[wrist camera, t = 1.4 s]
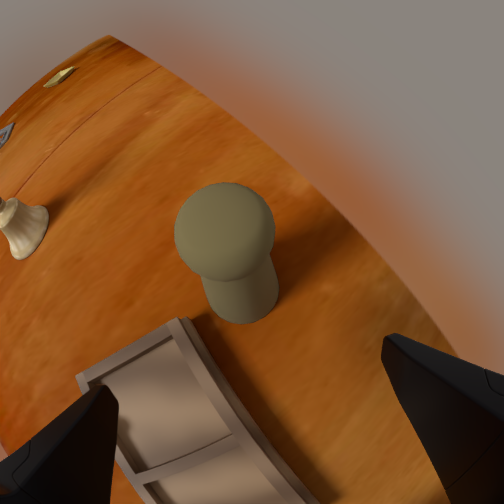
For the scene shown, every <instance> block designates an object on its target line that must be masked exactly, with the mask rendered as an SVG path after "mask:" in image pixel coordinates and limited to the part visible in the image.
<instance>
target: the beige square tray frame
mask: <svg viewBox="0 0 504 504" xmlns="http://www.w3.org/2000/svg"><path fill="white" fill-rule="evenodd" d="M73 69H74V67H71V68H68V69H66V70H63V71H61V72H59V73H58V74H56V75H55V76H54V77H53V78H52V79H51V80H50V81H48V82H47V83H46V84H45V85H44V87H47V88H49V87H52V86H54V85H57V84H59V83H61V82H62V81H63V80H64V79H65V78H66V77H67V76H68V75H70V74H71V73H72V71H73Z"/></svg>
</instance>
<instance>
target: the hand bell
mask: <svg viewBox="0 0 504 504" xmlns="http://www.w3.org/2000/svg"><path fill="white" fill-rule="evenodd" d="M48 221H49V214H48V211H47V209H46V208H45V207H43V206H33V207H30V206H27V205H25V204H24V203H22V202H20V201H19V200H18V199H17V198H11V199H9V200H8V201H6V202H5V201H4V200H3V199H2V198H1V197H0V229H1V231H2V232H3V233H4V234H5V235H6V237H7V238H8V240H9V243H10V250H11V253H12V255H13V257H14V258H16V259H18V260H21V259H24V258H27V257H28V256H29V255H31V254H32V253H33V252H34V251H35V249H36V248H37V247H38V245H39V244H40V242H41V241H42V239H43V237H44V235H45V232H46V230H47V226H48Z"/></svg>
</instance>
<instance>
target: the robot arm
mask: <svg viewBox="0 0 504 504" xmlns="http://www.w3.org/2000/svg"><path fill="white" fill-rule="evenodd" d="M381 360H382V363H383V365H384V368H385V370H386V372H387V375H388V377H389V379H390V382H391V384H392V387H393V389H394V391H395V394H396V396H397V398H398V400H399V402H400V404H401V406H402V408H403V409H404V411H405V413H406V415H407V417H408V418H409V420H410V422H411V424H412V426H413V428H414V429H415V431H416V433H417V435H418V437H419V439H420V441H421V443H422V445H423V446H424V448H425V450H426V452H427V454H428V456H429V458H430V460H431V462H432V464H433V466H434V468H435V470H436V472H437V474H438V476H439V478H440V481H441V483H442V485H443V487H444V489H445V490H446V491H445V492H446V494H447V496H448V498H449V500H450V503H451V504H504V375H501V374H499V373H496V372H493V371H490V370H488V369H484V368H482V367H480V366H477V365H475V364H472V363H469V362H467V361H464V360H462V359H459V358H457V357H454V356H452V355H449V354H447V353H444V352H442V351H439V350H437V349H434V348H432V347H429V346H427V345H424V344H422V343H420V342H417V341H415V340H412V339H410V338H407V337H405V336H402V335H400V334H398V333H393V334H390V335H387V336H385V337H384V339H383V344H382V352H381ZM118 415H119V403H118V400H117V399H116V397H115V396H114V394H113V393H112V391H111V390H110V388H109V387H108V386H107V385H105V384H97V385H94V386H93V387H92V388H91V389H90V390H88V391H87V392H86V393H85V394H84V395H83V396H81V397H80V398H79V399H78V400H77V401H75V402H74V403H73V404H72V405H71V406H69V407H68V408H67V409H66V410H65V411H63V412H62V413H61V414H60V415H59V416H57V417H56V418H55V419H54V420H53V421H52V422H50V423H49V424H48V425H47V426H46V427H44V428H43V429H42V430H41V431H40V432H38V433H37V434H36V435H35V436H34V437H32V438H31V440H29V441H28V442H26V443H25V444H24V445H23V446H22V447H20V448H19V449H18V450H17V451H15V452H14V453H12V454H11V455H10V456H8V457H7V458H5V459H4V460H3V461H1V462H0V504H110V496H111V485H112V476H113V467H114V460H115V452H116V445H117V431H118Z"/></svg>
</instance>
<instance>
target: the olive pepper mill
mask: <svg viewBox="0 0 504 504" xmlns="http://www.w3.org/2000/svg"><path fill="white" fill-rule="evenodd" d="M274 237H275V223H274V219H273V215H272V212H271V210H270V208H269V206H268V205H267V203H266V202H265V201H264V199H263V198H262V197H261V196H260V195H258V194H257V193H256V192H254V191H253V190H252V189H250V188H248V187H245V186H243V185H240V184H237V183H224V182H223V183H217V184H212V185H209V186H206V187H204V188H202V189H200V190H198V191H197V192H195V193H194V194H193V195H192V196H190V197H189V198H188V199H187V200H186V202H185V203H184V204H183V206H182V207H181V209H180V211H179V213H178V216H177V219H176V222H175V225H174V238H175V244H176V247H177V249H178V252H179V254H180V257H181V258H182V260H183V261H184V262H185V263H186V264H187V265H188V266H189V267H190V268H191V270H192V271H193V272H195V273H197V274H199V275H200V276H201V280H202V283H203V286H204V290H205V293H206V296H207V299H208V302H209V304H210V306H211V308H212V310H213V311H214V312H215V313H216V314H217V315H218V316H219V317H220V318H222V319H224V320H226V321H228V322H231V323H237V324H247V323H253V322H255V321H257V320H259V319H261V318H263V317H265V316H266V315H267V314H268V313H269V312H270V311H271V310H272V309H273V307H274V305H275V303H276V301H277V299H278V293H279V283H278V278H277V275H276V272H275V269H274V266H273V263H272V260H271V257H270V254H269V253H270V251H271V250H272V248H273V244H274Z"/></svg>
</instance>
